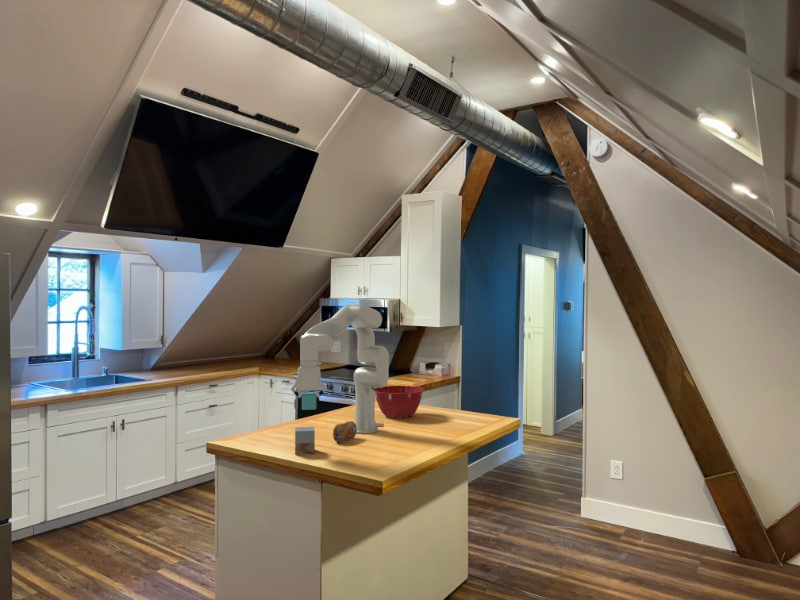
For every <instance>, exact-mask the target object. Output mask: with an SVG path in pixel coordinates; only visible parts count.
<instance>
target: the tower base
mask: <svg viewBox="0 0 800 600" xmlns="http://www.w3.org/2000/svg"><path fill="white" fill-rule="evenodd" d="M315 443H316V442H315ZM315 443H295V442H294V448H295V449H294V456H298V455H297V454H310V455H315V453H316V452H315V447H316V445H315Z"/></svg>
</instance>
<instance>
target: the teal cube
mask: <svg viewBox="0 0 800 600" xmlns="http://www.w3.org/2000/svg"><path fill="white" fill-rule="evenodd" d="M301 397H302V407H301V410H302V411H303V410H304V411H306V410H307V411H308V410H309V411H310V410H317V407H316V392H304V393H303V392H302V395H301Z"/></svg>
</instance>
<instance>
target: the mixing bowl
mask: <svg viewBox="0 0 800 600" xmlns="http://www.w3.org/2000/svg"><path fill="white" fill-rule="evenodd" d="M373 392H374V395H375V400H376V403H377V404H378V407H379V409H380V411H381V413H382V414H383V415H385V417H387V418H389V417H391V418H390V419H395V418H402V419H408V418H407V417H409V418H410V416H411V417H412V416H413V415H414V414H415V413H416V412H417V411H418V408H419V405H420V404H421V401H422V396H423V392H424V387H421V386H415V385H414V386H413V385H386V386H385V387H383V388H377V387H374V388H373Z"/></svg>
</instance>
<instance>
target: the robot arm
mask: <svg viewBox="0 0 800 600" xmlns="http://www.w3.org/2000/svg"><path fill="white" fill-rule="evenodd" d="M382 316H383V315H382V314H381V312H379V311H378V310H377V309H374V308H372V307H370V306H367V305H364V304H346V305H343V306H342V307H341V308H340V309H339V310H338V311H337V312H336V313H334V315H333V316H331V318H328V319H326V320H325V321H324V320H323V321H322V322H319V323H317V324H315V325H313V326H312V327H311V328H309V329H308V330H307V331H306V332H305V333H303V334H304V335H301V336H300V338H299V339H300V341H299V342H300V344H299V347H300V351H299V352H300V353H299V355H300V357H299V359H300V361H299V362H300V363H299V364H300V366H298V368H297V373H296V382H295V383H294V384H293V385H292V386H291V387H290V391H291V392H292V393H293V394H294V395H295V396H296V397H297V398H298V406H299V407H300V408H302V393H303V392H314V393H316V408H318V406H319V405H320V397H321V396H322V395H323V394H324V393H325V392H326V391H327V390H328V387H327V386H326V384H324V383H323V381H322V372H321V367H320V366H319V365H322V361H320V360H319V352H328V351H330V350H332V349H333V347H334V344H335V341H334V338H333V336H334V337H335V336H338V335H342V334H343V333H344V332H345V331H346V330H347V329H348V328H349V327H350V326H351V327H352V328H353V329H354V331H355V333H356V336H357V352H356V357H357V358H356V359H357V361H358V363H360V364H363V365H368V366H360V367H357V368H355V370H354V372H353V383H354V388H355V390H354V391H355V404H354V405H355V414H354V415H355V419H354V420H355V421H354V423H355V424H356V428H357V431H356V434H364V435H365V434H374V433H376V432H378V430H379V429H378V428H384V427H385V424H384V422H376V419H375V417H376V415H375V405H376V404H375V403H376V402H375V400H376V397H375V393H374V389H373V388H383V387H385V386H388V382H389V366H390V363H389V362H390V360H389V359H390V357H389V356H390V355H389V354H390V353H389V351H388V349H387V348H386V347H385V346H383V345H376V342H375V341H376V339H375V338H376V337H375V333H374V331H373V329H378V328H380V327H381V325H382V322H383V317H382ZM369 365H370V367H369ZM371 365H372V366H375V367H371ZM321 388H322V389H321ZM296 389H297V390H296Z"/></svg>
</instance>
